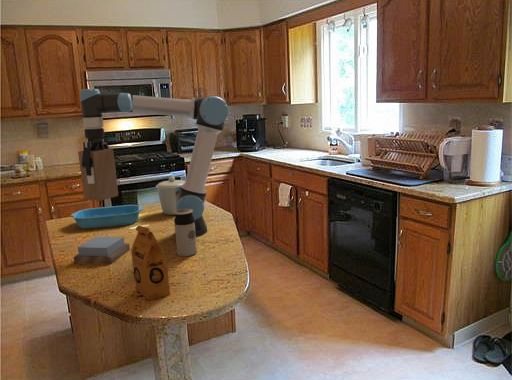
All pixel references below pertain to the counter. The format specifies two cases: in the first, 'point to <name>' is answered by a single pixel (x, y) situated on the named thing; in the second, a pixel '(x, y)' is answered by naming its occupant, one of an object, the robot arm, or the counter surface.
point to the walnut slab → (102, 257)
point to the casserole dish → (107, 216)
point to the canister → (168, 194)
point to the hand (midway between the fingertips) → (100, 180)
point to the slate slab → (101, 246)
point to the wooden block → (100, 176)
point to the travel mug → (185, 232)
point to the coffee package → (149, 265)
